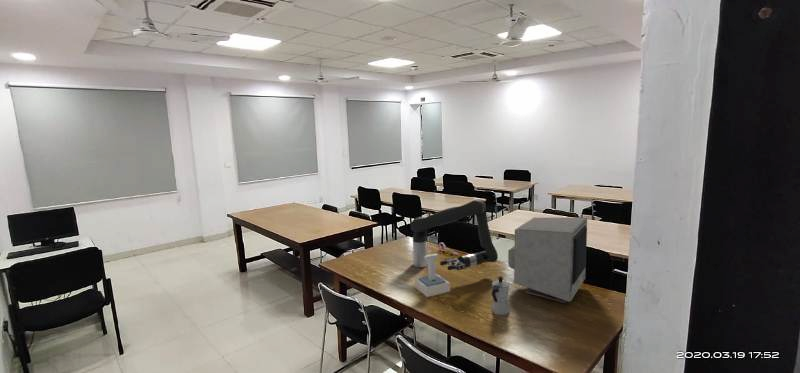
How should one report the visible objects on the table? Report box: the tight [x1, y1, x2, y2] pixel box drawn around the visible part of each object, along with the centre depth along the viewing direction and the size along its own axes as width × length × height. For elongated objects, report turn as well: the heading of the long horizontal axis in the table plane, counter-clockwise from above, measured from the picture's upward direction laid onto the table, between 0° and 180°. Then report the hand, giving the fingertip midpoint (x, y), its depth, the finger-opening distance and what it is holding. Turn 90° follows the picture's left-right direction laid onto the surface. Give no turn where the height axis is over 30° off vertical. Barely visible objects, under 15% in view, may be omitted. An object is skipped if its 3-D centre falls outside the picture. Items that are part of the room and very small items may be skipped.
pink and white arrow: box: [438, 242, 460, 256], centre depth 275 cm, size 7×1×20 cm
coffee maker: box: [491, 275, 511, 316], centre depth 183 cm, size 15×9×18 cm, turn 141°
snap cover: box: [418, 253, 446, 287], centre depth 212 cm, size 11×11×16 cm
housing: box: [414, 273, 451, 298], centre depth 213 cm, size 15×15×5 cm
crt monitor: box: [507, 217, 588, 304], centre depth 203 cm, size 35×37×40 cm
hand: (444, 265), depth 215 cm, fingers open, 8 cm apart
